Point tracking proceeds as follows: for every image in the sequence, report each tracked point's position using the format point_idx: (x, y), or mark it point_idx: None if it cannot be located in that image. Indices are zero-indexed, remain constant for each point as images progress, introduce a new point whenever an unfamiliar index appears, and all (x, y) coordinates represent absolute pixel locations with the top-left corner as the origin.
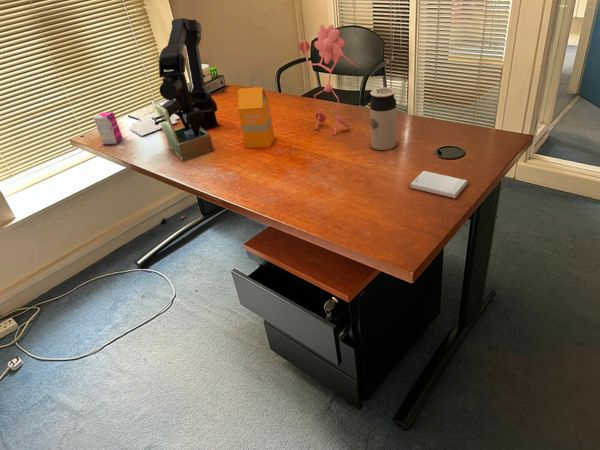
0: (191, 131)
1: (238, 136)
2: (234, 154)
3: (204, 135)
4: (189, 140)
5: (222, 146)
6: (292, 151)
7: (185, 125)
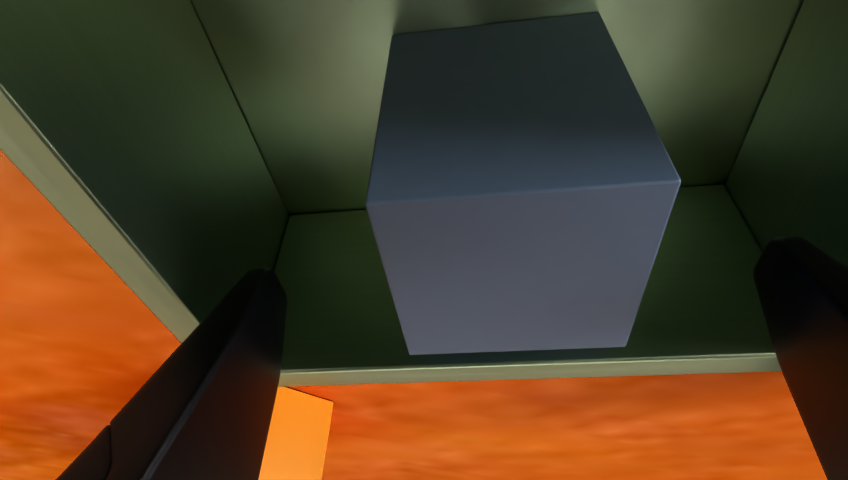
0: (524, 285)
1: None
2: (108, 296)
3: None
4: (35, 158)
5: None
6: (61, 440)
7: (826, 323)
